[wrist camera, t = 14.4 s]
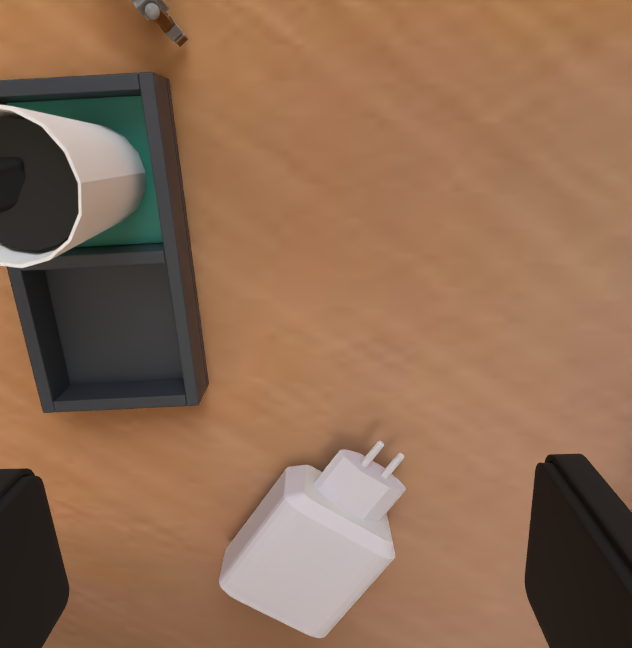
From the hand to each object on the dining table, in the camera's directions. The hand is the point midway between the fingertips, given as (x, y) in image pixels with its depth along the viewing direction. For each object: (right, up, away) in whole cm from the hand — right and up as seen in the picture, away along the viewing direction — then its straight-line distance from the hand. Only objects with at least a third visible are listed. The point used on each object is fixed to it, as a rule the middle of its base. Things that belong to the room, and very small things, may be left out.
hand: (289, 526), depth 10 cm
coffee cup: (-13, +13, +21) cm, 28 cm away
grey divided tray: (-13, +9, +23) cm, 28 cm away
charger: (+2, -10, +30) cm, 31 cm away
